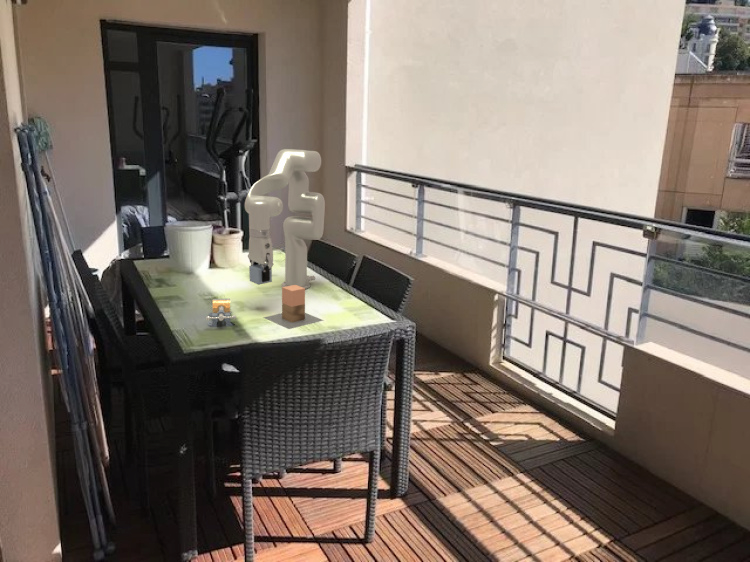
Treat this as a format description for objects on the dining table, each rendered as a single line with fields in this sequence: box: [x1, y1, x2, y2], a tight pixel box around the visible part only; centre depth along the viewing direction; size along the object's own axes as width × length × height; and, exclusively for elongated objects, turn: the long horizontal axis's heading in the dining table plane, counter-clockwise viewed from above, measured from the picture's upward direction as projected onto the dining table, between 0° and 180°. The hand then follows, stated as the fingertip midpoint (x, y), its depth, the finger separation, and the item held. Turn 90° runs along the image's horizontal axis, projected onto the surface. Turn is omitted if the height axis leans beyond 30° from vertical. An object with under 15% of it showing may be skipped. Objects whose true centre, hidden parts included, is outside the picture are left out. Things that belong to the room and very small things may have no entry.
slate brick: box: [248, 264, 273, 286], centre depth 236 cm, size 6×6×6 cm
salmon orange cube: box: [281, 285, 306, 307], centre depth 229 cm, size 6×6×6 cm
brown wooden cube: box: [281, 302, 306, 322], centre depth 230 cm, size 6×6×6 cm
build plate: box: [263, 312, 324, 330], centre depth 231 cm, size 16×16×1 cm
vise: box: [205, 298, 237, 328], centre depth 228 cm, size 18×10×7 cm, turn 13°
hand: (260, 278), depth 237 cm, fingers closed on slate brick, 6 cm apart
